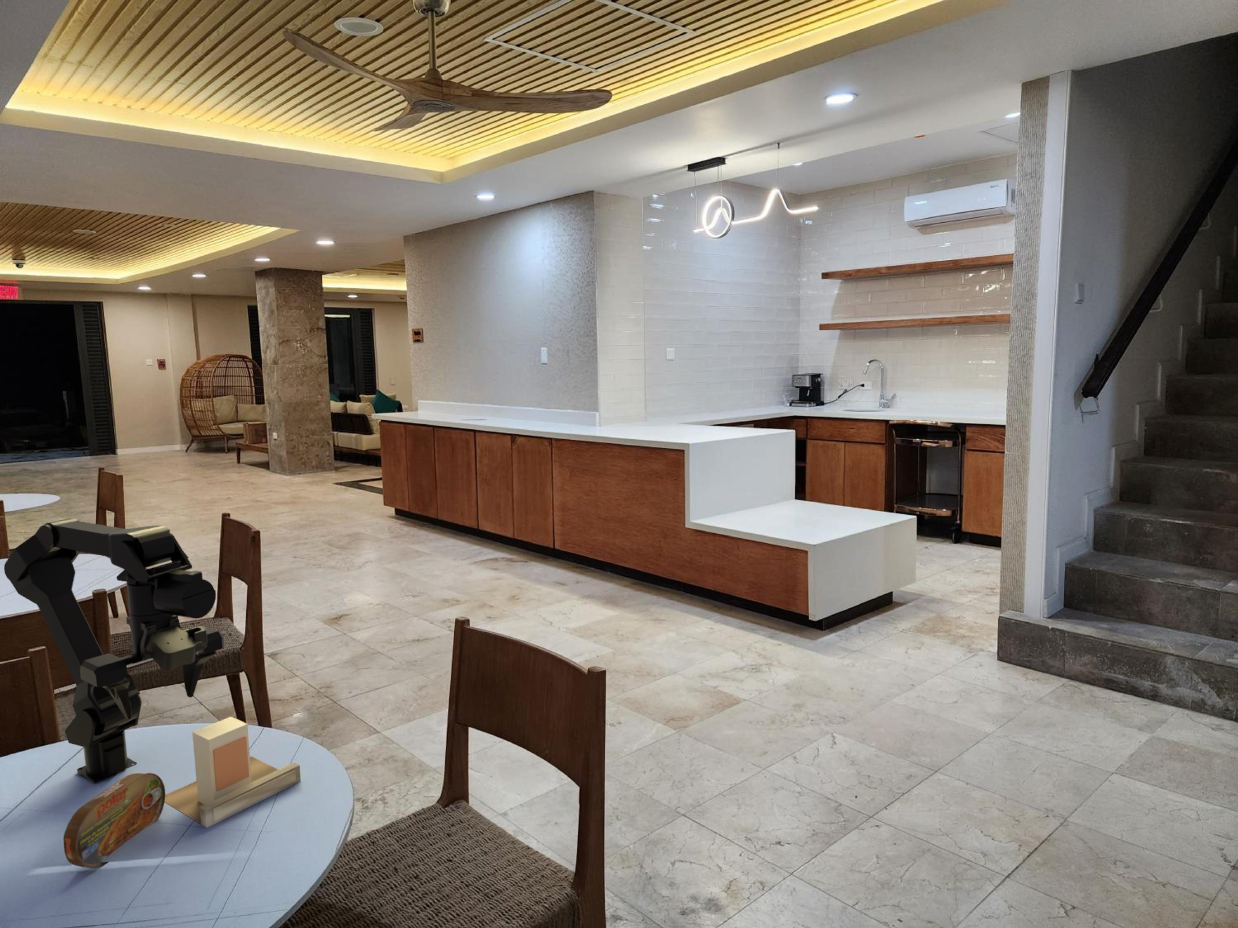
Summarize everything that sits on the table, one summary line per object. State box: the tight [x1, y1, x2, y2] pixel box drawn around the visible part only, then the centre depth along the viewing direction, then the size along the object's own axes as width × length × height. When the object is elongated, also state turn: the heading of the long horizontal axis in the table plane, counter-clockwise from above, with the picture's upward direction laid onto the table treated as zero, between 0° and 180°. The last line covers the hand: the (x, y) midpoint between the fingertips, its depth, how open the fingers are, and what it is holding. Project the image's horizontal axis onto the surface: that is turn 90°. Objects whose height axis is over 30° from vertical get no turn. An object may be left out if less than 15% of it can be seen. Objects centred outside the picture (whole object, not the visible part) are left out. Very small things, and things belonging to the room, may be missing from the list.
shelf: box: [164, 755, 301, 829], centre depth 123 cm, size 14×15×3 cm
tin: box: [63, 772, 166, 869], centre depth 110 cm, size 15×3×8 cm, turn 168°
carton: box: [192, 716, 252, 805], centre depth 120 cm, size 5×6×11 cm
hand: (160, 707), depth 123 cm, fingers open, 9 cm apart
